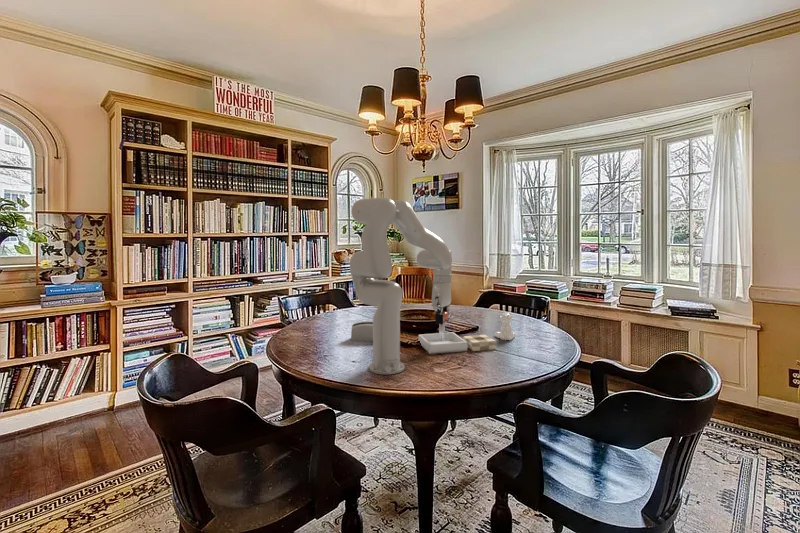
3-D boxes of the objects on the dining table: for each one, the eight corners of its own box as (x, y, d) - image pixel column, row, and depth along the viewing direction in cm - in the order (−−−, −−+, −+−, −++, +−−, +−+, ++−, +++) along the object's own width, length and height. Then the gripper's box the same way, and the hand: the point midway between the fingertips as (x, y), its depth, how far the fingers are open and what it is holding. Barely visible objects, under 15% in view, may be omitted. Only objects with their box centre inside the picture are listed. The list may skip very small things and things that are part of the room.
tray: (467, 350, 161) (467, 342, 161) (429, 353, 158) (429, 345, 157) (452, 340, 177) (453, 332, 177) (418, 342, 173) (418, 334, 173)
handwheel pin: (434, 339, 169) (434, 310, 168) (445, 338, 170) (445, 309, 169) (438, 342, 164) (438, 312, 163) (449, 341, 165) (449, 312, 164)
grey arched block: (388, 337, 181) (387, 319, 177) (387, 344, 177) (387, 325, 173) (352, 337, 182) (350, 318, 178) (350, 343, 178) (348, 324, 174)
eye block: (495, 349, 163) (495, 340, 163) (472, 351, 161) (473, 342, 161) (484, 342, 173) (484, 334, 173) (463, 344, 171) (463, 336, 170)
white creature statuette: (515, 336, 182) (515, 310, 181) (519, 341, 174) (519, 314, 173) (494, 335, 183) (494, 310, 182) (496, 341, 175) (497, 314, 174)
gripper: (442, 276, 174) (442, 317, 175) (424, 280, 159) (424, 325, 161) (458, 277, 170) (458, 319, 172) (441, 282, 155) (441, 327, 157)
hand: (442, 321), depth 166 cm, fingers closed on handwheel pin, 4 cm apart
